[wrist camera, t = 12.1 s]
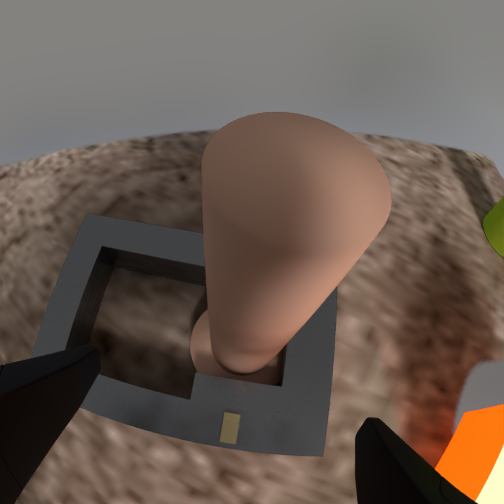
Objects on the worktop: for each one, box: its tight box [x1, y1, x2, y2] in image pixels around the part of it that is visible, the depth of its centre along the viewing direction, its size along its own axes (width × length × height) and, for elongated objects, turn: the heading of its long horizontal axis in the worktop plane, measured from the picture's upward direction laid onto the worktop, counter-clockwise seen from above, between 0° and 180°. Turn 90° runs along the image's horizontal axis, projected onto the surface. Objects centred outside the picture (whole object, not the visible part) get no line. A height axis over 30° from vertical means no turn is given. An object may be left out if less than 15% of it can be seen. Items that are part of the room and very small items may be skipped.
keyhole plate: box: [31, 214, 337, 457], centre depth 17 cm, size 17×12×3 cm
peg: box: [190, 112, 392, 386], centre depth 12 cm, size 6×6×15 cm
